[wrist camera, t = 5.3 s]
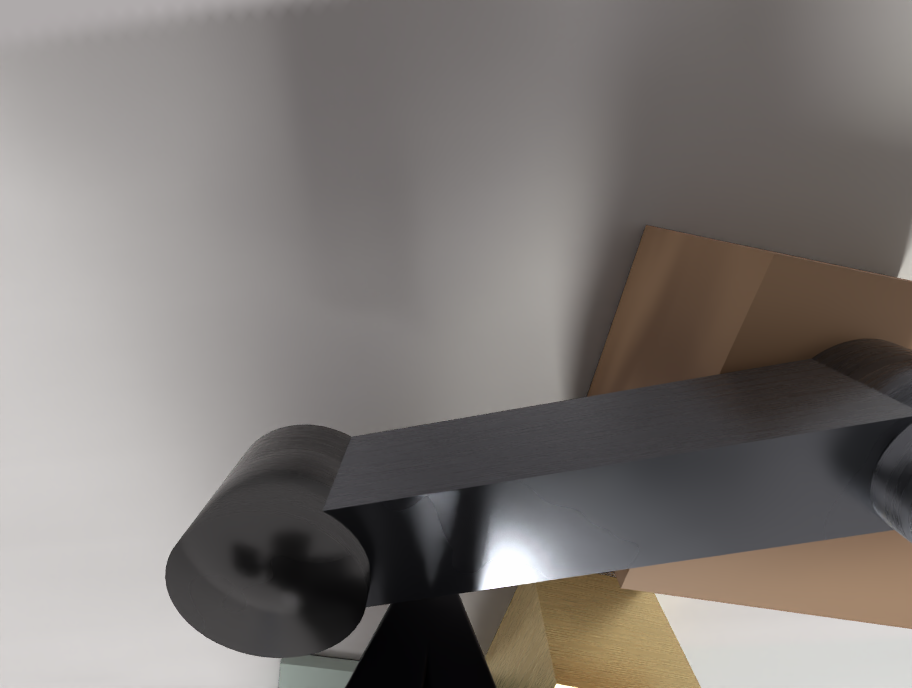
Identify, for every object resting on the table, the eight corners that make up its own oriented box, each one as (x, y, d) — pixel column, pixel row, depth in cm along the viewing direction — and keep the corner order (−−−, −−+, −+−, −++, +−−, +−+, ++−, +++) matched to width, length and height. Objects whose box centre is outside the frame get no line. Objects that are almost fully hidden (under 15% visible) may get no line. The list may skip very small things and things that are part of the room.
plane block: (776, 491, 14) (923, 630, 9) (565, 456, 13) (620, 588, 9) (899, 277, 11) (1173, 336, 7) (645, 225, 11) (774, 253, 6)
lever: (268, 554, 8) (197, 700, 6) (214, 438, 7) (104, 558, 5) (900, 456, 7) (1100, 577, 5) (933, 314, 6) (1193, 385, 4)
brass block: (584, 685, 17) (621, 825, 13) (478, 666, 17) (487, 806, 13) (648, 580, 15) (712, 711, 11) (529, 555, 15) (556, 684, 11)
